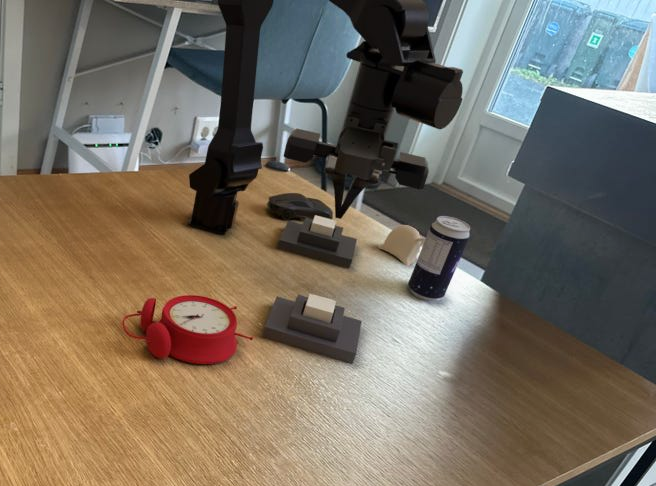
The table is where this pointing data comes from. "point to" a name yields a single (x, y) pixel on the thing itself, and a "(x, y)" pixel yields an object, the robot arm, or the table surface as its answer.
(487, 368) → the table surface
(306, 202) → the toy car
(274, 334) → the front keypad
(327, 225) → the back key
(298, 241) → the back keypad
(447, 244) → the beverage can
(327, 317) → the front key
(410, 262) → the decorative ornament
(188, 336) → the alarm clock
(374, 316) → the table surface
